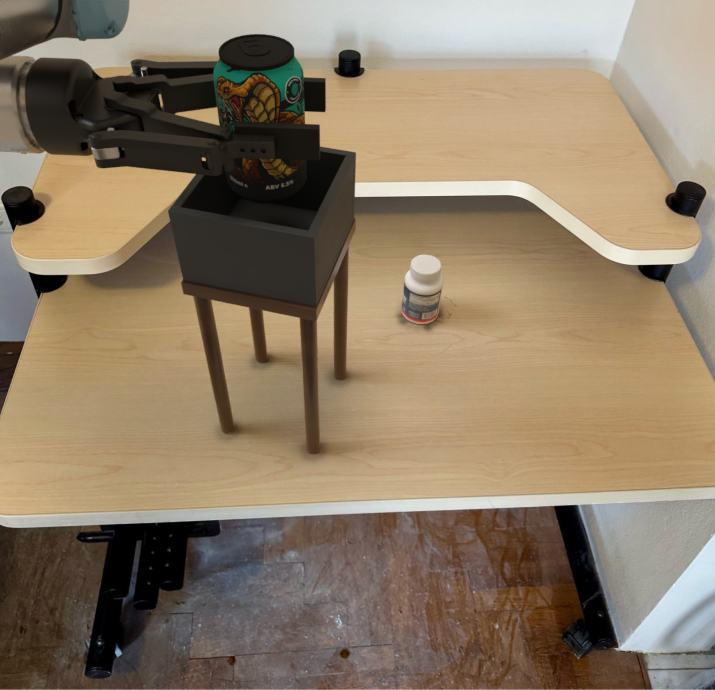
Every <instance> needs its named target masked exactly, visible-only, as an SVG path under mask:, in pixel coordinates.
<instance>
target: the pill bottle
mask: <svg viewBox="0 0 715 690" xmlns="http://www.w3.org/2000/svg"><path fill="white" fill-rule="evenodd" d="M441 272H442V262H441V261H440V259H439V258H438V257H435V256H434V255H431V254H419V255H416V256H415V257H413V258H412V260H411V262H410V267H409V270H408V271H407V272H406V273H405V275H404V281H403V289H402V299H401V313H402V315H403V317H404V318H405V319H406V320H407V321H408V322H410V323H413V324H418V325H427V324H430V323H432V322H434V321H435V320H437V318H438V316H439V313H440V306H441V298H442V293H443V289H444V288H443V287H444V277H443V275H442V273H441Z"/></svg>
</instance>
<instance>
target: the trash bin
mask: <svg viewBox="0 0 715 690" xmlns="http://www.w3.org/2000/svg"><path fill="white" fill-rule="evenodd" d="M356 163H357V152H355V151H350V150H343V149H338V148H333V147H332V148H331V147H326V146H320V161H314V160H306V167H307V179H306V182H305V184H304V185H303V187H302V188H301V189H300V190H299V191H298V192H297V193H296V194H295V195H293V196H292V197H290V198H288V199H286V200H283V201H279V202H275V203H258V202H253V201H249V200H247V199H245V198H243V197H241V196H240V195H239V194H237V193H236V192H234V191H233V190H232V189H231V187H230V186H229V185H228V182H227V177H226V171H225V167H224V166H223V173H222V174H221V175H218V176H210V175H201V174H194V176H193V177H192V178H191V180H190V181H189V183H187V185H186V187H184V189H183V191H182V192H181V193H180V194H179V196H178V197H177V198H176V200H175V201H174V202H173V204H172V205H171V206H170V207H169V208H168V210H167V213H168V218H169V222H170V226H171V231H172V236H173V240H174V245H175V249H176V254H177V258H178V263H179V267H180V272H181V277H182V280H184V281H189V282H194V283H199V284H204V285H209V286H214V287H219V288H224V289H229V290H234V291H239V292H244V293H249V294H254V295H259V296H264V297H269V298H274V299H278V300H283V301H288V302H293V303H298V304H303V305H308V306H313V307H316V306H317V304H318V302H319V299H320V297H321V295H322V292H323V290H324V288H325V285H326V283H327V281H328V279H329V276H330V274H331V272H332V269H333V267H334V265H335V262H336V260H337V258H338V256H339V253H340V251H341V249H342V246H343V244H344V242H345V240H346V237H347V235H348V233H349V230H350V228H351V226H352V223H353V221H354V218H355V206H356V205H355V201H356V199H355V198H356V167H357V164H356Z"/></svg>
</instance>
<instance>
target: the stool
mask: <svg viewBox="0 0 715 690" xmlns="http://www.w3.org/2000/svg"><path fill="white" fill-rule="evenodd" d="M356 223H357V218H355V217H354V221H353V223H352V226H351V228H350V230H349V233H348V235H347V237H346V240H345V242H344V244H343V246H342V249H341V251H340V253H339V256H338V258H337V260H336V262H335V265H334V267H333V269H332V272H331V274H330V276H329V279H328V281H327V283H326V285H325V288H324V290H323V292H322V295H321V297H320V299H319V302H318V304H317V306H316V307H313V306H308V305H303V304H298V303H293V302H288V301H283V300H278V299H274V298H269V297H264V296H259V295H254V294H249V293H244V292H239V291H234V290H229V289H224V288H219V287H214V286H209V285H204V284H199V283H194V282H189V281H184V280H183V279H182V280H181V282H180V284H181V289H182V294H183V295H187V296H191V297H193V302H194V306H195V311H196V316H197V321H198V326H199V331H200V336H201V339H202V344H203V345H202V346H203V350H204V354H205V359H206V360H205V361H206V363H207V369H208V373H209V378H210V383H211V388H212V393H213V397H214V402H215V406H216V411H217V416H218V417H217V418H218V421H219V426H220V430H221V432H222V433H223V434H231V433H233V432H234V431H235V427H236V426H235V421H234V416H233V411H232V410H233V409H232V404H231V399H230V394H229V388H228V383H227V378H226V377H227V376H226V373H225V372H226V371H225V367H224V361H223V355H222V350H221V344H220V340H219V334H218V333H219V332H218V329H217V323H216V318H215V313H214V307H213V302H212V301H214V302H220V303H225V304H230V305H235V306H239V307H245V308H248V311H249V313H248V314H249V318H250V328H251V335H252V342H253V350H254V358H255V361H256V362H258V363H265V362H267V361H268V358H269V357H268V355H269V354H268V348H267V346H268V345H267V337H266V328H265V320H264V319H265V318H264V312H268V313H274V314H279V315H283V316H289V317H293V318H297V319H299V333H300V336H299V337H300V350H301V351H300V353H301V356H300V357H301V368H302V369H301V371H302V374H301V375H302V390H303V391H302V392H303V394H302V395H303V407H304V408H303V411H304V429H305V449H306V451H307V452H308V453H309V454H311V455H315V454H317V453H319V451H320V450H321V433H320V432H321V430H320V429H321V428H320V392H319V391H320V390H319V353H318V352H319V350H318V349H319V347H318V319H319V317H320V314H321V313H322V309H323V307H324V306H325V302H326V300H327V298H328V295H329V293H330V291H331V288H332V286H333V378H335V379H336V380H338V381H340V380H341V381H342V380H344V379H346V377H347V354H348V351H347V349H348V312H349V310H348V309H349V308H348V307H349V304H348V303H349V267H350V266H349V265H350V264H349V262H350V261H349V260H350V244H351V242H352V240H353V237H354V235H355V232H356V229H357V228H356Z"/></svg>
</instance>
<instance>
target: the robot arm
mask: <svg viewBox="0 0 715 690" xmlns="http://www.w3.org/2000/svg"><path fill="white" fill-rule="evenodd" d="M130 1H131V0H0V152H1V153H19V154H21V155H27V154H39V155H40V154H44V153H45V152H46V153H47V154H49V155H53V156H73V157H74V156H76V157H90V156H92V155H93V159H94V162H95V166H96V167H97V168H98V169H113V168H124V167H125V168H126V167H128V168H138V169H145V170H146V169H147V170H148V169H149V170H154V171H155V170H156V171H165V172H172V173H173V172H174V173H184V174H193V175H196V174H201V175H210V176H218V175H221V174H222V173H223V166H224V167H225V171H226V172H231V171H234V170H235V169H236V160H235V158H248V159H255V158H256V159H288V160H314V161H320V147H321V124H316V123H315V124H314V123H305V124H293V123H268V122H243V121H235V124H234V131H235V133H232V130H231V129H230V128H228V127H223V126H220V125H219V124H215V123H211V122H207V121H203V120H199V119H194V118H191V117H186V116H182V115H179V114H178V113H186V112H193V111H200V110H208V109H214V108H215V109H217V103H216V95H215V88H214V81H213V73H214V68H215V66H216V64H217V62H218V60H209V61H208V60H207V61H206V60H205V61H204V60H203V61H196V60H195V61H194V60H193V61H156V60H148V59H143V58H142V59H141V58H136V59H132V60H131V61H130V66H131V73H129V74H127V75H123V74H121V75H115V76H109V77H108V76H107V77H102V76H101V75H99V74H98V73H96V71H94V69H93V67H92V66H91V65H90V64H89V63H88V62H86V60H84V59H81V58H70V57H69V58H65V57H63V58H62V57H39V58H38V59H36V58H34V57H33V56H28V55H17V54H19V53H21V52H24V51H26V50H28V49H30V48H33V47H35V46H39V45H40V44H44V43H47V42H49V41H51V40H54V39H66V38H67V39H75V40H76V39H77V40H78V41H80V42H86V41H87V40H109V39H114V38H116V37H117V36H119V35H120V34H121V33H122V31H123V30H124V28H125V27H126V25H127V22H128V17H129V14H130V13H129V12H130ZM326 79H327V78H326V77H307V76H306V77H305V76H304V106H305V113H306V112H309V113H326V111H327V110H326V109H327V106H326V105H327V99H326V98H327V89H326V87H327V84H326ZM159 95H160V96H159ZM161 102H162V104H161ZM203 159H205V160H203Z"/></svg>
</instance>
